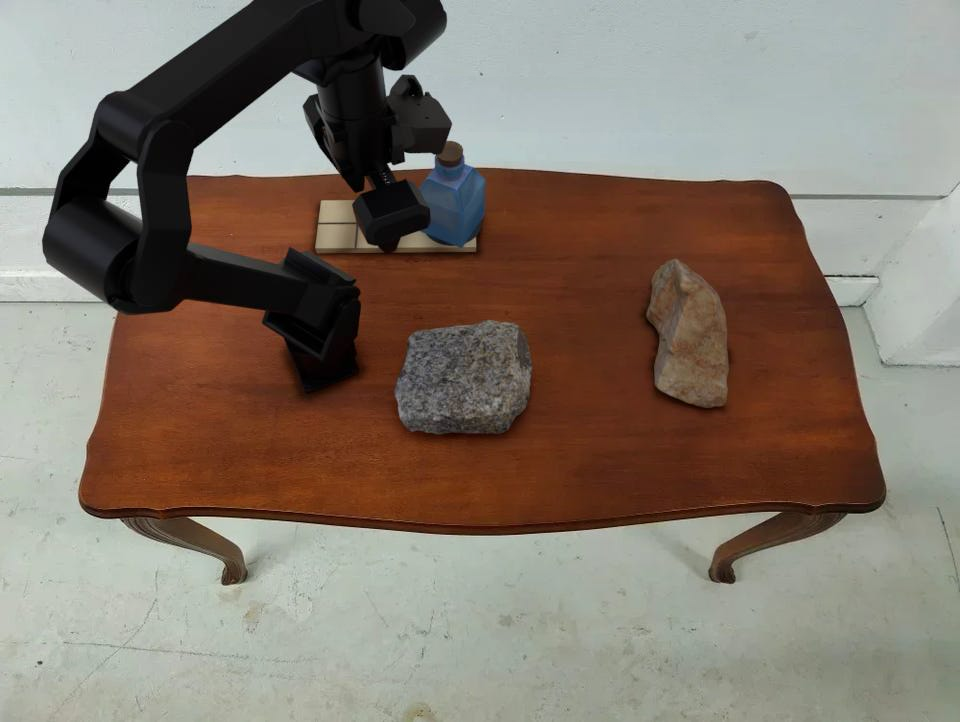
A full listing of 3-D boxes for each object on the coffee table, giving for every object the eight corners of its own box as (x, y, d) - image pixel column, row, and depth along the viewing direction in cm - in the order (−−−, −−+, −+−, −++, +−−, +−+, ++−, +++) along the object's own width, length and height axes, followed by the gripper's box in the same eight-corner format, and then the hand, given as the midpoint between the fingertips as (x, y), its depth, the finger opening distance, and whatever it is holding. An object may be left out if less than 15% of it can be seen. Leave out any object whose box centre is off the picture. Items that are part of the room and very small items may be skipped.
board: (316, 253, 89) (314, 247, 88) (322, 205, 93) (320, 199, 92) (482, 251, 89) (482, 246, 88) (481, 204, 93) (481, 198, 92)
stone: (642, 263, 86) (691, 240, 76) (705, 279, 88) (759, 259, 79) (627, 403, 83) (676, 397, 73) (693, 416, 85) (748, 411, 76)
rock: (391, 439, 76) (531, 444, 76) (387, 414, 70) (537, 420, 71) (401, 338, 82) (530, 343, 82) (397, 307, 76) (536, 314, 77)
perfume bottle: (484, 214, 91) (486, 142, 80) (461, 248, 88) (460, 177, 77) (442, 198, 92) (438, 124, 82) (418, 230, 89) (411, 158, 79)
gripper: (484, 140, 58) (481, 258, 72) (399, 13, 67) (411, 141, 80) (356, 181, 56) (379, 296, 69) (285, 44, 64) (317, 170, 78)
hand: (374, 220), depth 74 cm, fingers open, 9 cm apart
